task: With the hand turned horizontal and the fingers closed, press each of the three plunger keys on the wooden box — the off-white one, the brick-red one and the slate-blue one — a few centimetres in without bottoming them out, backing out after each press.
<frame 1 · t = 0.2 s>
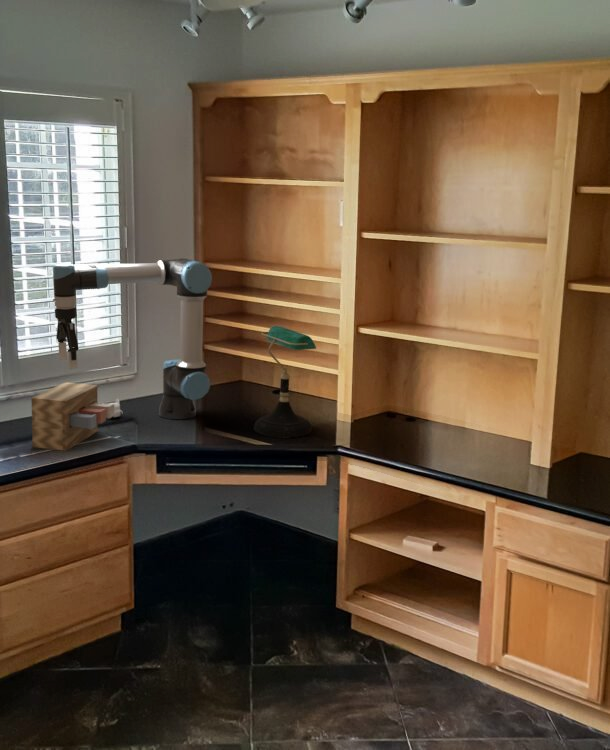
hand: (68, 364, 322), 27 cm above the table, tool pointing down, fingers open, 13 cm apart
brick key: (87, 414, 319), point 10 cm above the table, slide at 0.0 cm
white key: (96, 409, 327), point 10 cm above the table, slide at 0.0 cm
banker's lamp: (282, 430, 347), on the table
wooden box: (82, 440, 322), on the table
slate key: (77, 420, 311), point 10 cm above the table, slide at 0.0 cm
elephant figurine: (111, 418, 354), on the table
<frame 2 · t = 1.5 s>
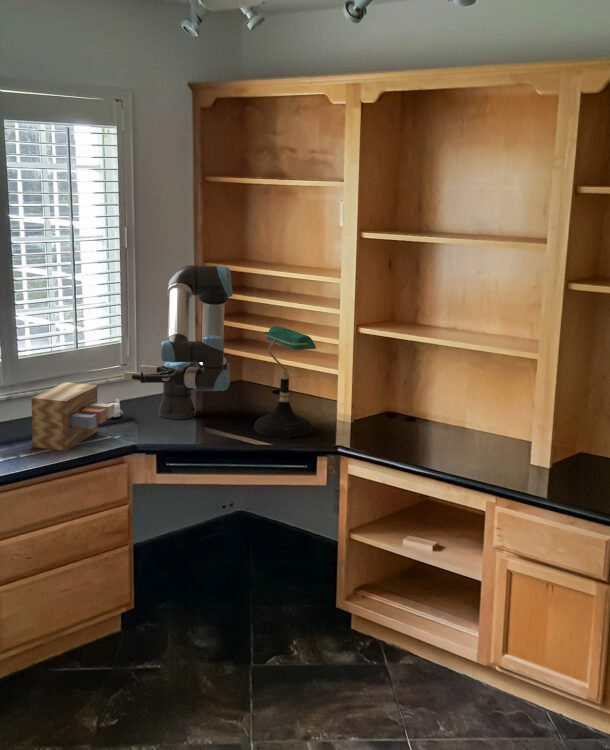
hand: (132, 372, 321), 25 cm above the table, tool horizontal, fingers open, 13 cm apart
nothing on the table moved.
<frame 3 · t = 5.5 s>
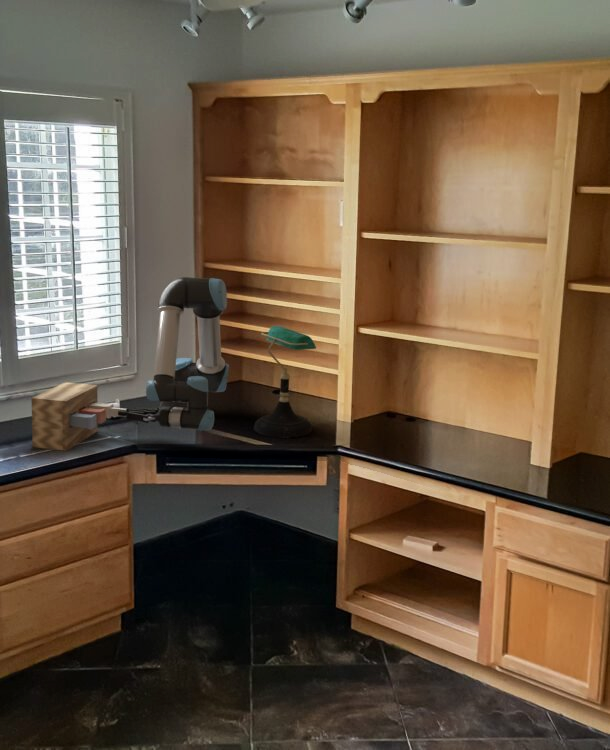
hand: (111, 411, 325), 10 cm above the table, tool horizontal, fingers closed
white key: (95, 409, 327), point 10 cm above the table, slide at 0.4 cm, touching gripper
everything else where it was.
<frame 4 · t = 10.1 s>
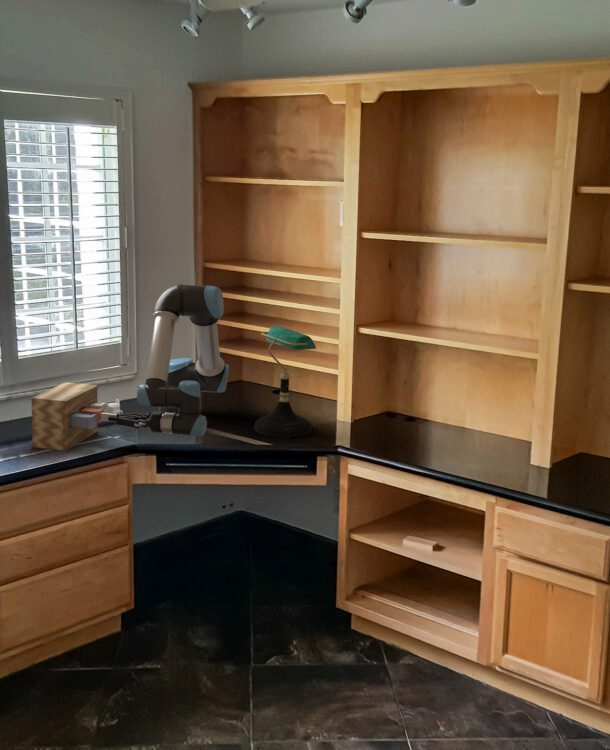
hand: (101, 416, 318), 10 cm above the table, tool horizontal, fingers closed
brick key: (85, 414, 319), point 10 cm above the table, slide at 0.8 cm, touching gripper
white key: (88, 408, 327), point 10 cm above the table, slide at 3.4 cm
everything else where it was.
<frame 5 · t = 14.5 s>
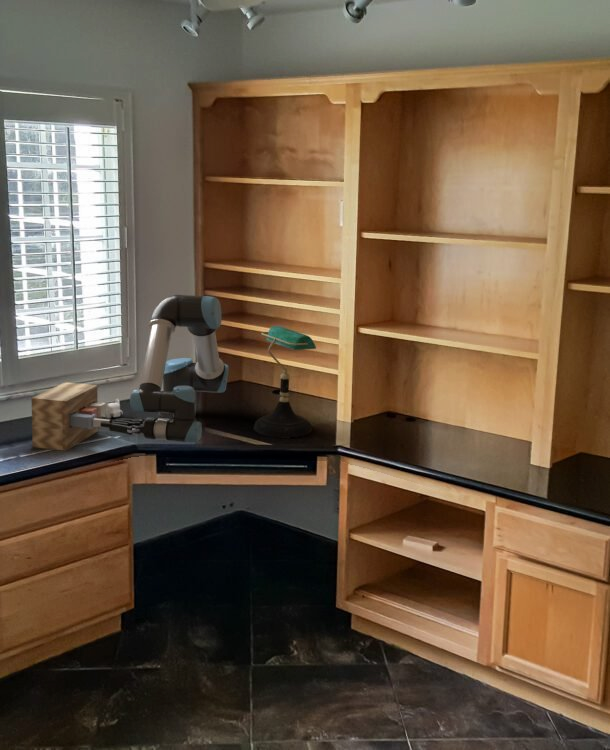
hand: (93, 422, 310), 10 cm above the table, tool horizontal, fingers closed
brick key: (79, 413, 320), point 10 cm above the table, slide at 3.3 cm
slate key: (77, 420, 311), point 10 cm above the table, slide at 0.1 cm, touching gripper
everything else where it was.
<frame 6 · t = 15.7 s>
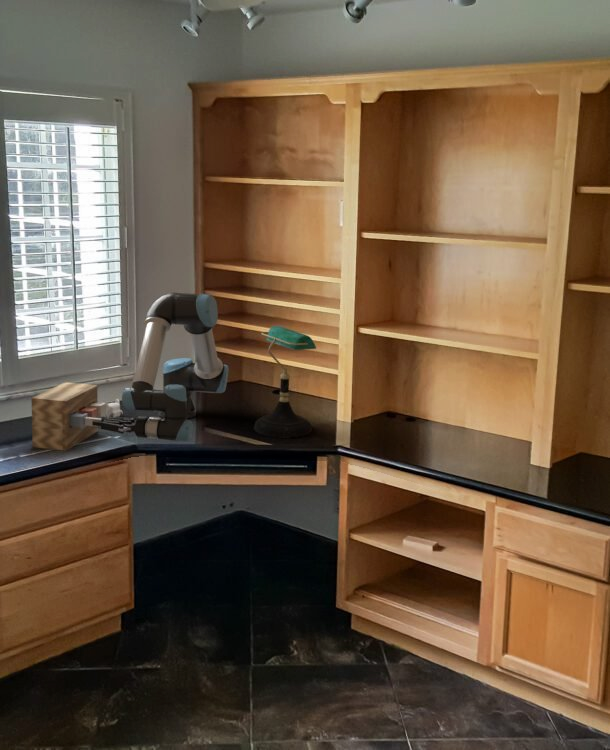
hand: (85, 421, 311), 10 cm above the table, tool horizontal, fingers closed
slate key: (69, 419, 312), point 10 cm above the table, slide at 3.3 cm, touching gripper
everything else where it was.
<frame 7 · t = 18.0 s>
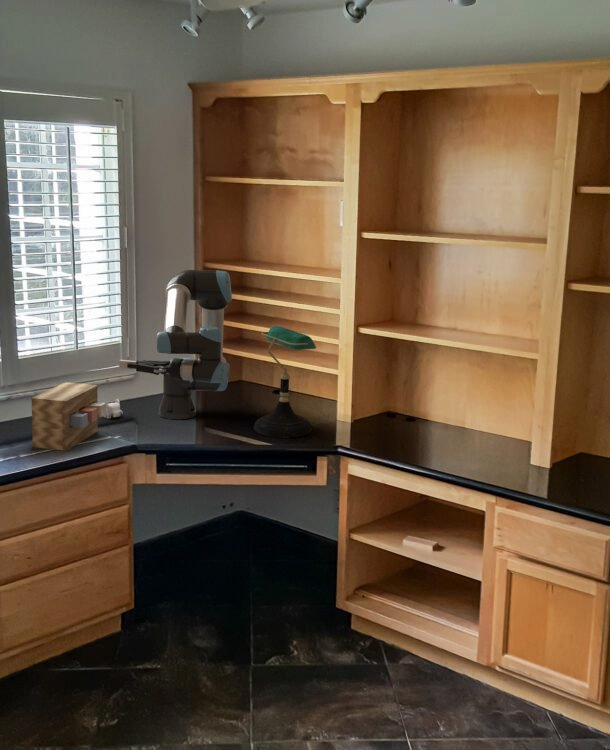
hand: (120, 363, 312), 30 cm above the table, tool horizontal, fingers closed
slate key: (69, 419, 312), point 10 cm above the table, slide at 3.3 cm
everything else where it was.
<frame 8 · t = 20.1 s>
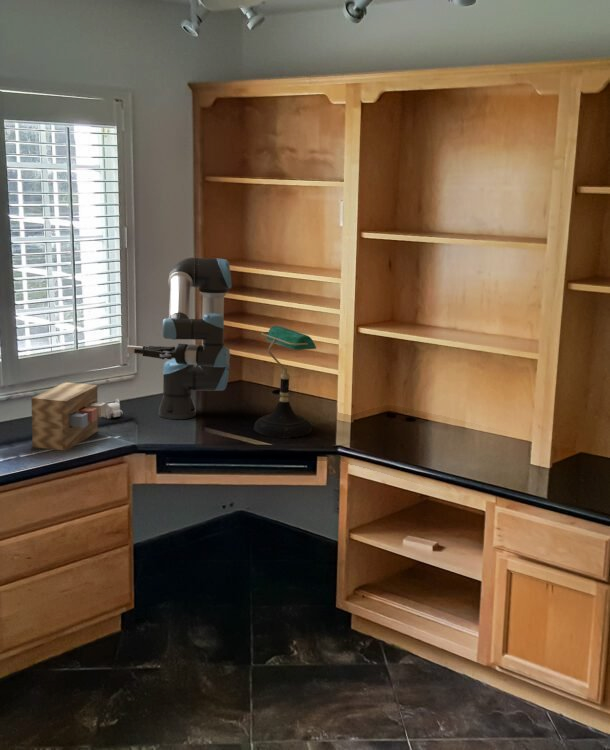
hand: (127, 349, 328), 32 cm above the table, tool horizontal, fingers closed
nothing on the table moved.
at the end: white key slide at 3.4 cm; brick key slide at 3.3 cm; slate key slide at 3.3 cm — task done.
